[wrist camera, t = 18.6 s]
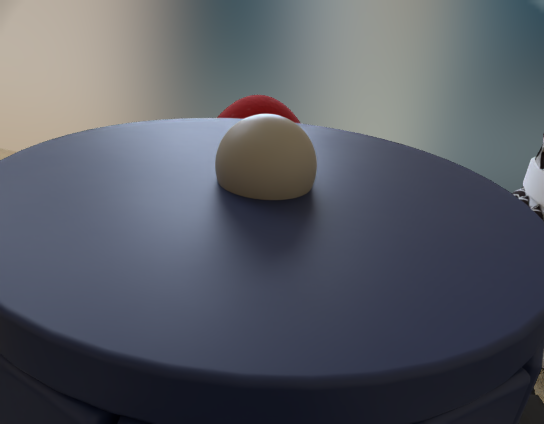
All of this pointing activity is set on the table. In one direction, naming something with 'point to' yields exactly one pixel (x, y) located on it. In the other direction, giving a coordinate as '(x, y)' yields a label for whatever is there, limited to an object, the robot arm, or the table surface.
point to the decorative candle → (534, 188)
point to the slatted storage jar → (262, 280)
